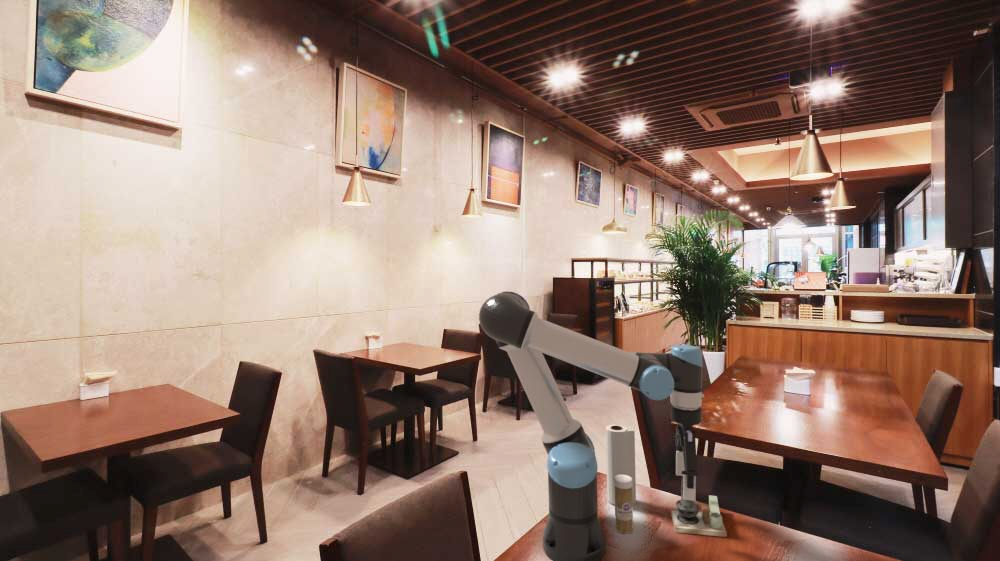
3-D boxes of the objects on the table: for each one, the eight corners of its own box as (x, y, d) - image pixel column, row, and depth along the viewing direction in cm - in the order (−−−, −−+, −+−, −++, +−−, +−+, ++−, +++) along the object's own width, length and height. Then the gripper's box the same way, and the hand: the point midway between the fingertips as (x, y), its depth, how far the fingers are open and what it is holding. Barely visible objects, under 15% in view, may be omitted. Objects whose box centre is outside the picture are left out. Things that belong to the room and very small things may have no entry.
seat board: (675, 532, 119) (674, 515, 118) (670, 513, 127) (670, 498, 127) (726, 537, 116) (726, 520, 116) (718, 517, 125) (718, 502, 124)
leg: (722, 529, 116) (722, 517, 116) (710, 527, 117) (710, 515, 117) (718, 505, 128) (718, 494, 128) (707, 503, 129) (707, 492, 129)
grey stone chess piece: (702, 526, 119) (701, 479, 118) (677, 524, 120) (677, 478, 119) (697, 513, 124) (696, 469, 124) (674, 512, 126) (673, 468, 125)
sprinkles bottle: (621, 536, 118) (620, 483, 117) (611, 526, 122) (610, 475, 122) (637, 532, 119) (636, 479, 119) (626, 522, 124) (625, 472, 123)
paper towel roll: (603, 498, 137) (601, 425, 136) (620, 494, 139) (618, 422, 138) (618, 510, 130) (616, 433, 129) (636, 505, 132) (634, 430, 132)
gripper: (711, 422, 108) (710, 513, 109) (693, 393, 132) (692, 467, 133) (677, 420, 110) (676, 509, 111) (665, 392, 134) (664, 465, 135)
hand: (685, 486), depth 122 cm, fingers open, 13 cm apart
